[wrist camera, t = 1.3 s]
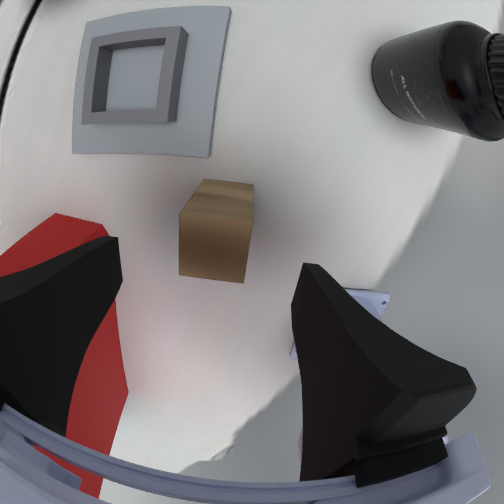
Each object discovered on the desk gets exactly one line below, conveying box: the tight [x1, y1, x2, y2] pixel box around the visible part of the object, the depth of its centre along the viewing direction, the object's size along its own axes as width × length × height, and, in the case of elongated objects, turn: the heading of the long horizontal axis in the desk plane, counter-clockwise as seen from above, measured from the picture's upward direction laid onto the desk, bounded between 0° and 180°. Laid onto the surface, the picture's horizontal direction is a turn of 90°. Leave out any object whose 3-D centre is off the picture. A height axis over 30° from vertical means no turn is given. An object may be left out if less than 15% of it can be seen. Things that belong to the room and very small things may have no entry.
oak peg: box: [179, 179, 253, 283], centre depth 17 cm, size 4×4×7 cm
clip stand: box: [72, 6, 231, 158], centre depth 13 cm, size 11×11×3 cm
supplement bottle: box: [373, 21, 504, 141], centre depth 9 cm, size 7×7×12 cm
